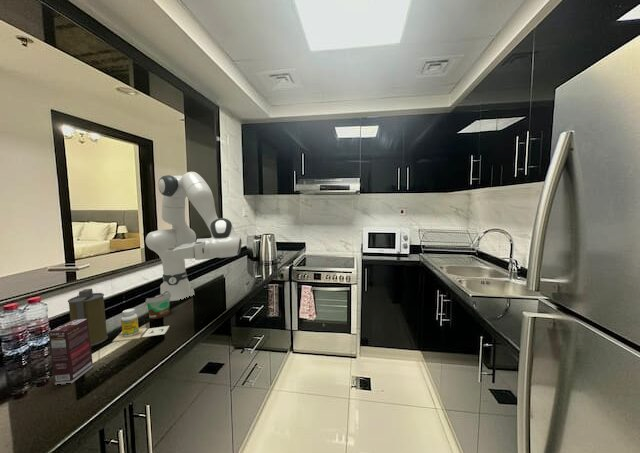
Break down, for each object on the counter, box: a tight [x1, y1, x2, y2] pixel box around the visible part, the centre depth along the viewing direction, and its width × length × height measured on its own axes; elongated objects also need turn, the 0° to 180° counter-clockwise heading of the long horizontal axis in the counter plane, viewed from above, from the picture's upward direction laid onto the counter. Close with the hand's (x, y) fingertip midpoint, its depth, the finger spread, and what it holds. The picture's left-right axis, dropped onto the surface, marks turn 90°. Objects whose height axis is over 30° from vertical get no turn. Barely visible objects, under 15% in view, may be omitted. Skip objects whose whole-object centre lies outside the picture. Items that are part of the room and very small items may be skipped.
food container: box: [145, 291, 171, 320], centre depth 128 cm, size 12×6×10 cm, turn 168°
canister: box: [67, 288, 109, 347], centre depth 103 cm, size 11×10×20 cm
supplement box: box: [48, 319, 94, 386], centre depth 81 cm, size 9×5×16 cm, turn 5°
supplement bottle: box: [120, 308, 140, 337], centre depth 108 cm, size 5×5×10 cm
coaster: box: [111, 327, 148, 343], centre depth 108 cm, size 9×9×1 cm
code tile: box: [141, 325, 170, 338], centre depth 111 cm, size 8×8×1 cm
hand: (165, 251), depth 112 cm, fingers open, 8 cm apart
